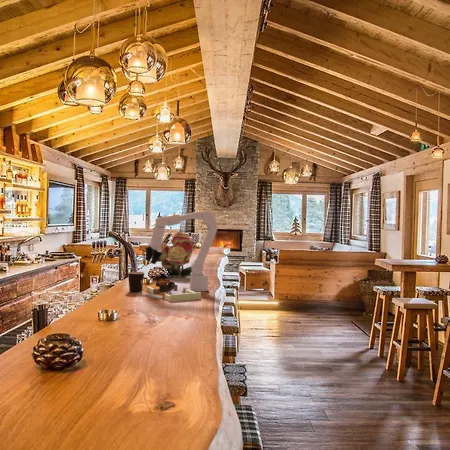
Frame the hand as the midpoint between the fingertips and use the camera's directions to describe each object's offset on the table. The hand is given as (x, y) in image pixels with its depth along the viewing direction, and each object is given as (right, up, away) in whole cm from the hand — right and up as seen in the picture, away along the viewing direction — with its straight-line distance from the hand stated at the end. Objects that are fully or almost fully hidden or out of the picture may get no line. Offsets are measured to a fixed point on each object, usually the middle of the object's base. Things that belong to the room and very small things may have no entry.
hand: (150, 262), depth 241 cm
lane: (+12, -16, -13) cm, 24 cm away
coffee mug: (-6, -15, -5) cm, 17 cm away
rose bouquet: (+8, -14, +55) cm, 58 cm away
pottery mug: (+9, -16, -5) cm, 19 cm away
